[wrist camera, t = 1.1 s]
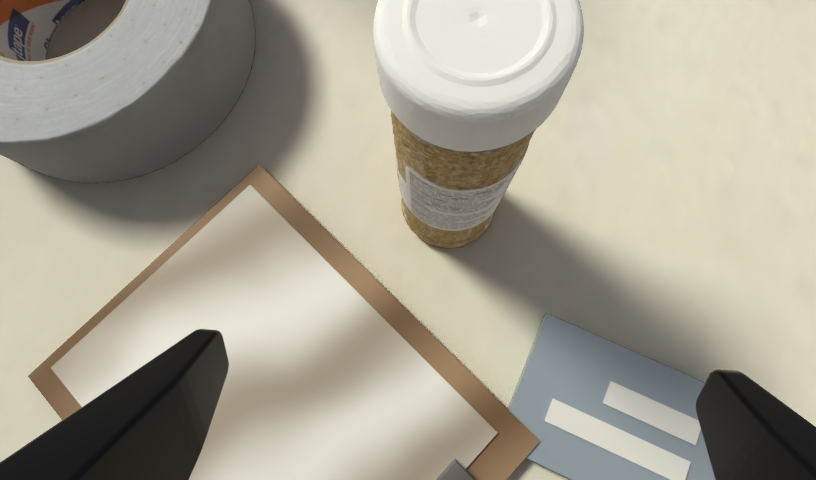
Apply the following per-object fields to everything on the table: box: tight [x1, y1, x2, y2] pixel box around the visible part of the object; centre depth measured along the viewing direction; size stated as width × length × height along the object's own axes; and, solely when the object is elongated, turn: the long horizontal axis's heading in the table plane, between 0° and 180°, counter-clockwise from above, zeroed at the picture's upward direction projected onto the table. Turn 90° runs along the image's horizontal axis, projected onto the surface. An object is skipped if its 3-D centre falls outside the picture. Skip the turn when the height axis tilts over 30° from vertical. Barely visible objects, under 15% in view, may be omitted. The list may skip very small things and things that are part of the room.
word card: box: [508, 314, 715, 480], centre depth 20 cm, size 9×6×1 cm, turn 66°
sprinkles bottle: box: [373, 0, 584, 248], centre depth 16 cm, size 5×5×14 cm
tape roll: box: [0, 0, 255, 183], centre depth 23 cm, size 15×15×5 cm
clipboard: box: [28, 165, 540, 480], centre depth 20 cm, size 18×14×1 cm
